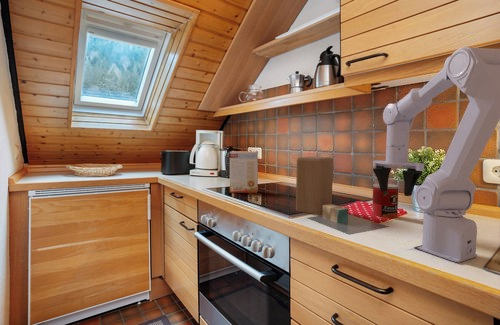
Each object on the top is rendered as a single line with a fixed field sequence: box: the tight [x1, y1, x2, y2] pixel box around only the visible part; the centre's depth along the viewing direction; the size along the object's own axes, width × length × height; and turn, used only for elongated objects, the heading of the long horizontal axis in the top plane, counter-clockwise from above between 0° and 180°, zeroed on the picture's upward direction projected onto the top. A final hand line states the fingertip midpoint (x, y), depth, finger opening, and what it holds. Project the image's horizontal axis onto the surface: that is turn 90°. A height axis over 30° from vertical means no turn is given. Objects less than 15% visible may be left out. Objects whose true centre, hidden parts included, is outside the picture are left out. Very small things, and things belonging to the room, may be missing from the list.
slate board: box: [306, 213, 390, 235], centre depth 83 cm, size 18×16×1 cm
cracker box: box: [229, 150, 259, 194], centre depth 139 cm, size 14×6×21 cm, turn 84°
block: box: [295, 156, 334, 216], centre depth 97 cm, size 10×10×20 cm
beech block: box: [321, 203, 349, 223], centre depth 86 cm, size 4×4×7 cm
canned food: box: [371, 182, 399, 219], centre depth 92 cm, size 8×8×11 cm
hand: (395, 193), depth 79 cm, fingers open, 7 cm apart
